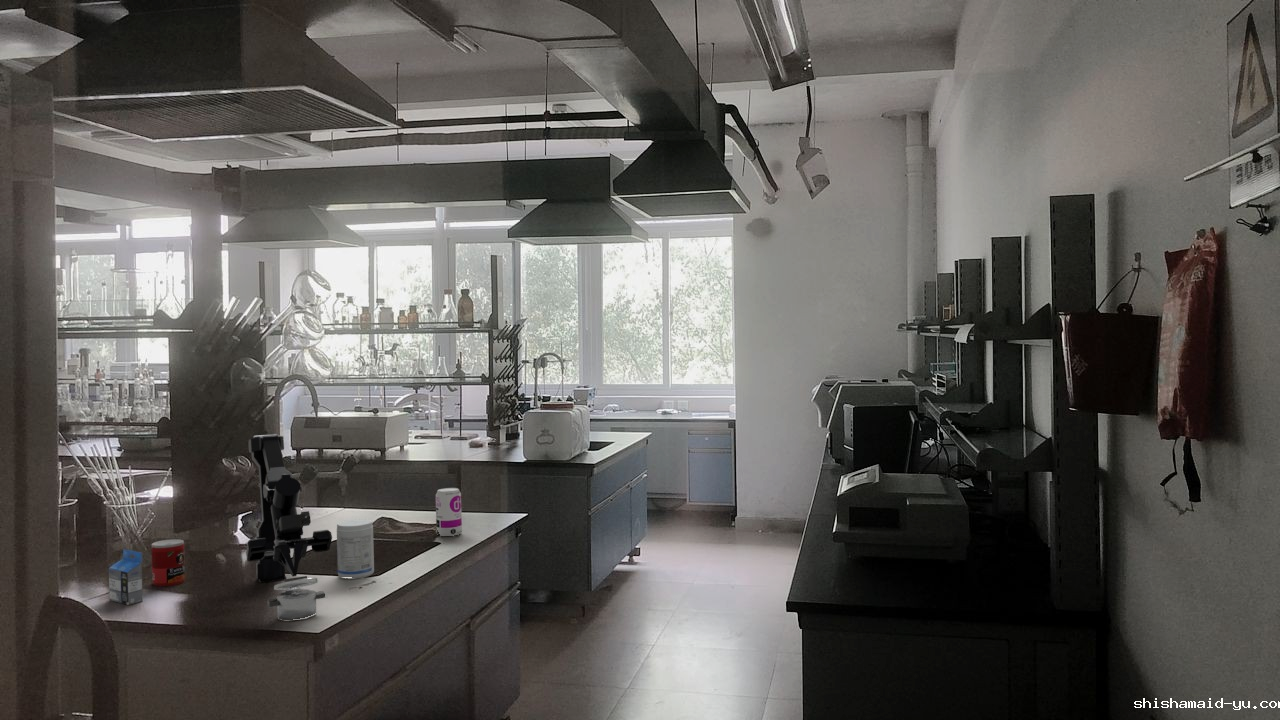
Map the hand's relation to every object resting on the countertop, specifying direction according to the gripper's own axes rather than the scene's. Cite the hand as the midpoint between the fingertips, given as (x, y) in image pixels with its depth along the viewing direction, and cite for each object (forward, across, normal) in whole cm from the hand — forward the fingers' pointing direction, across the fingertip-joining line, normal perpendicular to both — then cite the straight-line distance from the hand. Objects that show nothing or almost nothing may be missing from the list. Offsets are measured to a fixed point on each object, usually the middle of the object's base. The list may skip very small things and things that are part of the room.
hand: (294, 575), depth 199 cm
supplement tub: (-12, +20, +26) cm, 35 cm away
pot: (+8, 0, +5) cm, 9 cm away
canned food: (-28, -24, +42) cm, 56 cm away
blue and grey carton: (-19, -34, +33) cm, 51 cm away
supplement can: (-36, +58, +50) cm, 84 cm away
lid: (+3, 0, +1) cm, 3 cm away
